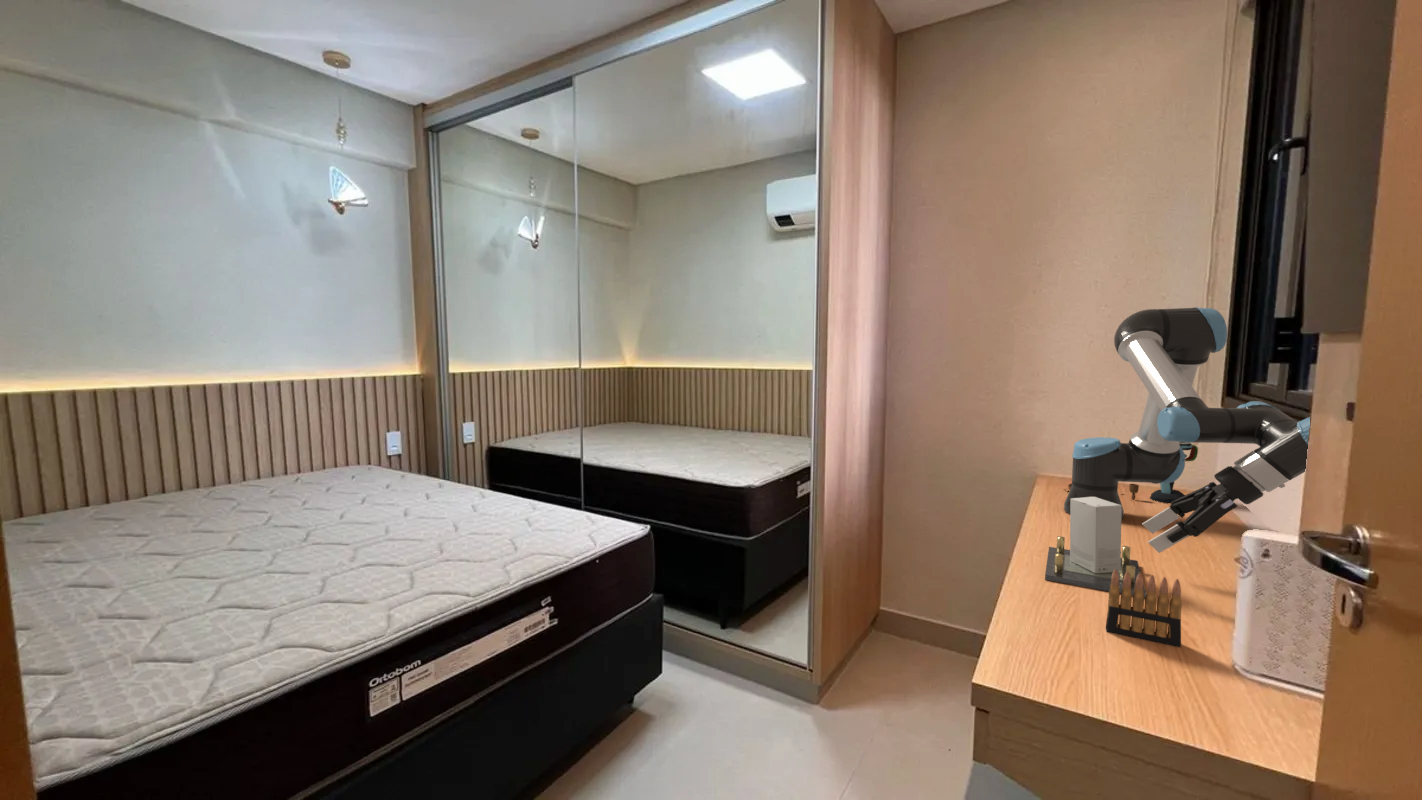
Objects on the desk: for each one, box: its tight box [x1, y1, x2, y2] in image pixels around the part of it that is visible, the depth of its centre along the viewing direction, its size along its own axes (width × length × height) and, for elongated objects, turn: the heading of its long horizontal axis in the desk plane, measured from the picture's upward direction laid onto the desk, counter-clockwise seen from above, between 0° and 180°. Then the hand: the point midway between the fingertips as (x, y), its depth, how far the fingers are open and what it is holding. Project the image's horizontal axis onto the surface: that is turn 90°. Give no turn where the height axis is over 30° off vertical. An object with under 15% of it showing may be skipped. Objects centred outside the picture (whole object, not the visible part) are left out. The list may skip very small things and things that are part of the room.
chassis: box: [1044, 535, 1147, 599], centre depth 128 cm, size 20×18×5 cm
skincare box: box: [1069, 497, 1123, 573], centre depth 128 cm, size 8×7×16 cm
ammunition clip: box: [1105, 569, 1182, 648], centre depth 100 cm, size 11×2×12 cm, turn 58°
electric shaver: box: [1149, 442, 1199, 505], centre depth 182 cm, size 9×12×20 cm
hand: (1149, 537), depth 122 cm, fingers open, 13 cm apart
